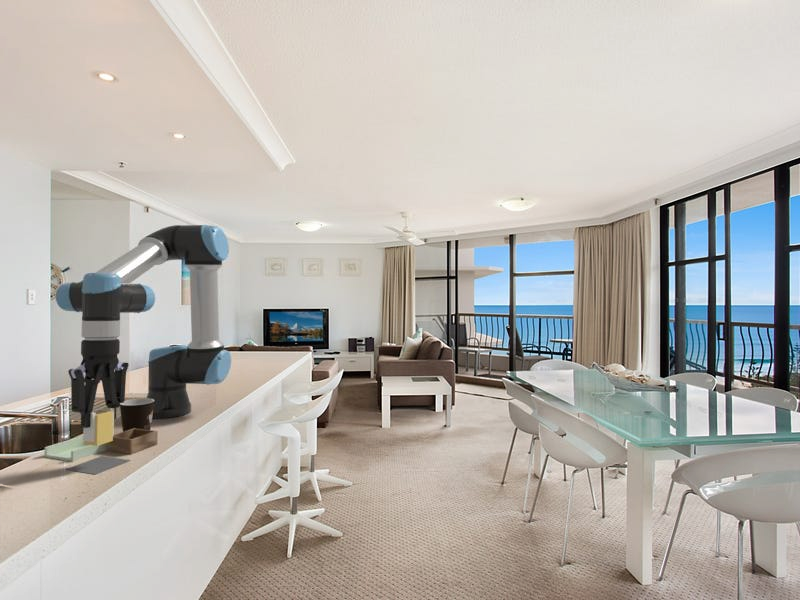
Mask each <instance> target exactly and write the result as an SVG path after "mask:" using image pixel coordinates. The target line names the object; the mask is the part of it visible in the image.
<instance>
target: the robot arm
mask: <svg viewBox="0 0 800 600" xmlns="http://www.w3.org/2000/svg"><path fill="white" fill-rule="evenodd" d="M229 252H230V246H229V241H228V238H227V236H226V234H225V232H224V231H223V229H222V228H221V227H219V226H217V225H208V224H202V225H201V224H200V225H199V224H195V225H194V224H193V225H191V224H190V225H189V224H187V225H186V224H185V225H183V224H181V225H180V224H177V225H176V224H174V225H170V226H166V227H164V228H161V229H158V230H156V231H154V232H152V233H150V234H148V235H146V236H145V237H143V238H142V239H140V240H139V241H138V244H137V246H135V247H134V248H131V249H130V250H129V251H127V252H126V253H124V254H123V255H120V256H119V257H118V258H116V259H114V260H112V262H110V263H108V264H107V265H105V266H104V267H102V268H100V269H99V270H97V271H95V272H88V273H86V274H84V275H83V277H82V278H83V279H82V280H80V281H79V282H75V281H71V282H65V283H62V284H61V285H59V286H58V288H57V290H56V292H55V302H56V303H57V305H58V307H59V308H60V309H62V310H63V311H66V312H74V313H75V312H76V313H81V315H82V316H81V336H80V337H81V338H83V339H82V341H80V354H81V356H82V361H81V363H80V365H79V366H77V367H75V368H70V369H69V370H68V375H69V377H70V381H71V382H70V383H71V384H70V385H71V389H70V390H71V396H70V397H71V398H70V399H71V412H72V413H79V414H80V427H81V428H82V429H83V431H82V432H83V433H82V436H83V441H88V442H94V441H95V420H96V413H94V412H95V411H93V409H94V405H95V400H96V395H97V389H98V386H99V384H100V382H101V384H102V390H103V391H102V392H103V396H104V402H105V407H102V410H104V411H113V435H115V434H114V433H115V426H114V425H115V421H116V419H117V408H120V403H123V402H124V401H126V400H125V399H126V385H127V384H126V383H127V382H126V380H127V371H128V369H129V366H130V365H129V362H122V361H120V360H119V358H118V355H119V354H120V352H121V351H120V349H121V348H120V344H121V341H120V339H119V337H120V336H121V314H122V313H124V314H126V313H127V314H128V313H131V314H132V313H134V314H135V313H136V314H139V313H145V312H147V311H150V310H151V309H152V308H153V307H154V305H155V302H156V294H155V292H154V290H153V289H152V287H150V286H148V285H145V284H141V283H133V282H135V280H137V279H138V278H140V277H141V276H142V275H143V274H145V273H146V272H148V271H150V269H152V268H153V267H154V266H157V265H158V266H161V265H163V264H165V263H166V262H168V261H177V260H179V261H181V260H182V261H184V266H185V267H186V268H187V269H188V270H189V287H190V288H189V289H190V291H189V292H190V293H189V295H190V321H191V323H190V324H191V325H190V327H191V328H190V329H191V341H190V342H189V343H188V344H187V345H186V344H182V345H181V344H180V345H171V346H165V347H157V348H154V349H151V350H150V352H149V355H148V361H147V364H148V391H147V395H146V398H145V399H154V400H155V401H154V408H153V415H152V419H168V418H169V419H170V418H175V417H181V416H184V415H187V414H189V413H191V412H192V403H191V402H190V399H189V394H188V391H187V384H193V385H198V384H199V385H207V386H208V385H218V384H221V383H222V382H224V381H225V380H226V378H227V377H228V374H229V372H230V370H231V364H232V355H231V353H230V351H228V350H226V349H225V344H224V342H222V340H220V325H219V316H220V315H219V285H218V284H219V282H218V278H219V277H218V270H219V269H221V267H223V261H226V260H227V258H228V257H229Z"/></svg>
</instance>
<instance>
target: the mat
mask: <svg viewBox="0 0 800 600" xmlns="http://www.w3.org/2000/svg"><path fill="white" fill-rule="evenodd" d="M129 462H131V459H124V458H119V457H118V458H117V457H111V456H104V455H100V456H98V457H95V458H92V459H90V460H88V461H85V462H81V463H79V464H76V465H72V466H70V467H68V468H65V471H70V472H76V473H82V474H88V475H94V476H95V475H99V474H100V473H103V472H106V471H108V470H111V469H114V468H116V467H119V466H122V465H123V464H126V463H129Z"/></svg>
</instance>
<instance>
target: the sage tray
mask: <svg viewBox="0 0 800 600" xmlns="http://www.w3.org/2000/svg"><path fill="white" fill-rule="evenodd" d="M105 451H107V443H105V444H102V445H98V446H94V445H86V444H84V441H83V435H81V436H78V437H75V438H71V439H67V440H64V441H61V442H57V443H53V444H52V445H51V444H50V445H48V446H45V447H44V458H48V459H53V460H60V461H66V462H72V463H73V462H77V461H79V460H82V459H85V458H88V457H90V456H93V455H95V454H99V453H102V452H105Z"/></svg>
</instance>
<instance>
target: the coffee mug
mask: <svg viewBox="0 0 800 600" xmlns="http://www.w3.org/2000/svg"><path fill="white" fill-rule="evenodd" d="M154 401H155V400H154V399H146V398H133V399H132V398H131V399H126V400H125V401H124V402H123V403H120V407H119V411H120V419H121V420H120V421H121V427H122V432H124V431H127V430H130V429H133V428H136V429H145V430H151V427H152V422H153V418H152V415H153V408H154Z"/></svg>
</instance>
